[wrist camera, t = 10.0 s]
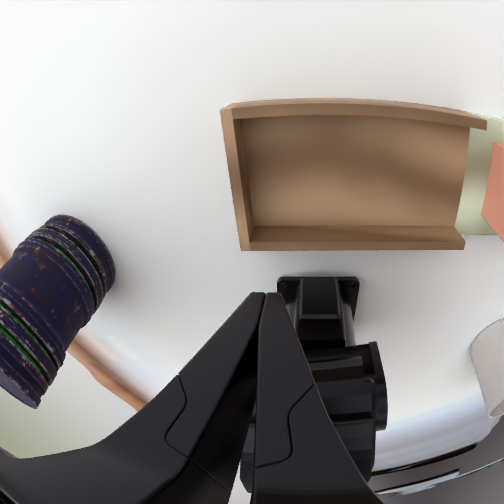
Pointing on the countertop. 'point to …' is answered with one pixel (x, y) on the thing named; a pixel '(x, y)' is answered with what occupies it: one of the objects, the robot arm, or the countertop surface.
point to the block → (495, 192)
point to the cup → (490, 366)
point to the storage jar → (48, 302)
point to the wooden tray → (357, 174)
